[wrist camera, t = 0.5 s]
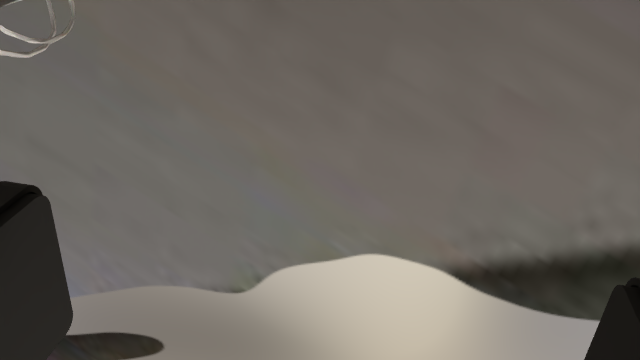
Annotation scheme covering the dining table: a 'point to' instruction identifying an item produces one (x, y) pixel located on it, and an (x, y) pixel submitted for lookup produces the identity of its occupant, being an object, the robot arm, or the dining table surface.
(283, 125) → the dining table surface
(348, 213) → the dining table surface
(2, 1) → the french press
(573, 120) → the dining table surface
